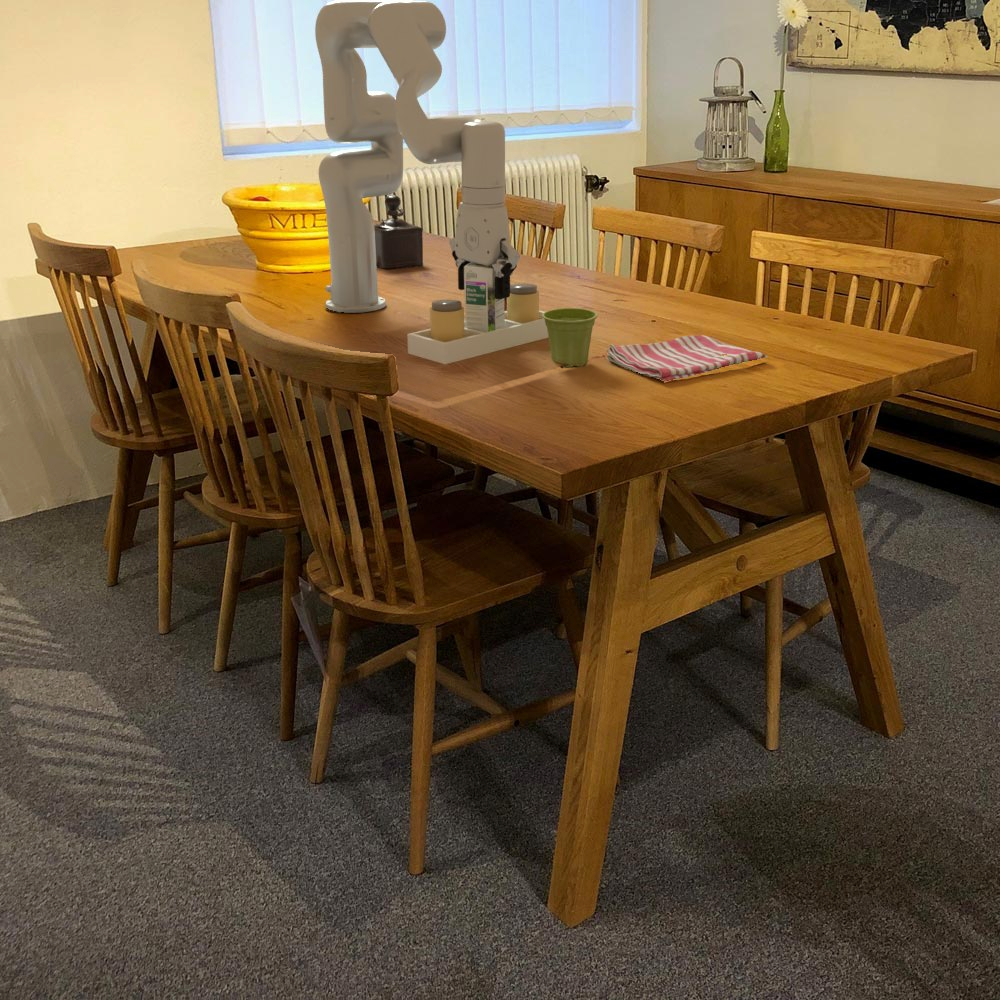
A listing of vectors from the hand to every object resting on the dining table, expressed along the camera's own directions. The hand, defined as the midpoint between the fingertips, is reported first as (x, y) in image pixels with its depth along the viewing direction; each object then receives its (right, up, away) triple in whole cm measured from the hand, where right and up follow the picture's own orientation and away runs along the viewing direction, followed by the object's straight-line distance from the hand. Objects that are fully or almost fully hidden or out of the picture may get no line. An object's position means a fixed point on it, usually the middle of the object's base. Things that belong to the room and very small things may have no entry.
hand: (483, 293), depth 207 cm
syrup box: (0, -9, +3) cm, 9 cm away
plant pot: (+15, -14, -7) cm, 21 cm away
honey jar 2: (+7, -6, +9) cm, 13 cm away
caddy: (+1, -9, +3) cm, 10 cm away
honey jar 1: (-6, -11, -3) cm, 13 cm away
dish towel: (+35, -14, -7) cm, 39 cm away
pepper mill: (-22, +20, +75) cm, 81 cm away
